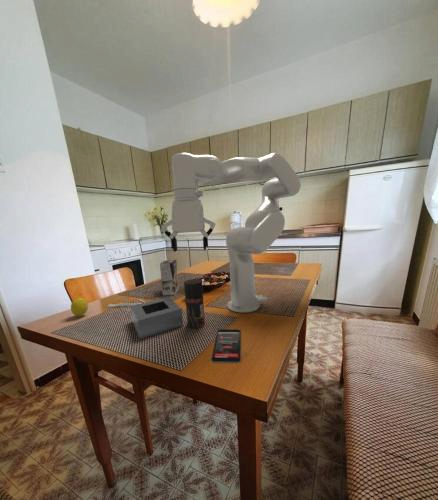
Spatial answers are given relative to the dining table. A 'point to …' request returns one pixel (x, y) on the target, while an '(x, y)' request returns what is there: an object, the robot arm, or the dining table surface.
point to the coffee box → (169, 277)
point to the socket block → (156, 317)
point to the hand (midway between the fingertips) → (190, 250)
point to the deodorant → (194, 303)
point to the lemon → (79, 306)
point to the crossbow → (124, 304)
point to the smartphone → (227, 346)
